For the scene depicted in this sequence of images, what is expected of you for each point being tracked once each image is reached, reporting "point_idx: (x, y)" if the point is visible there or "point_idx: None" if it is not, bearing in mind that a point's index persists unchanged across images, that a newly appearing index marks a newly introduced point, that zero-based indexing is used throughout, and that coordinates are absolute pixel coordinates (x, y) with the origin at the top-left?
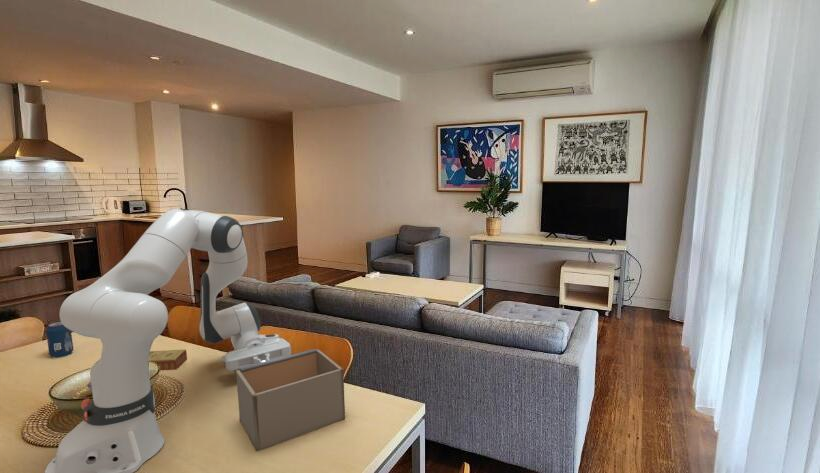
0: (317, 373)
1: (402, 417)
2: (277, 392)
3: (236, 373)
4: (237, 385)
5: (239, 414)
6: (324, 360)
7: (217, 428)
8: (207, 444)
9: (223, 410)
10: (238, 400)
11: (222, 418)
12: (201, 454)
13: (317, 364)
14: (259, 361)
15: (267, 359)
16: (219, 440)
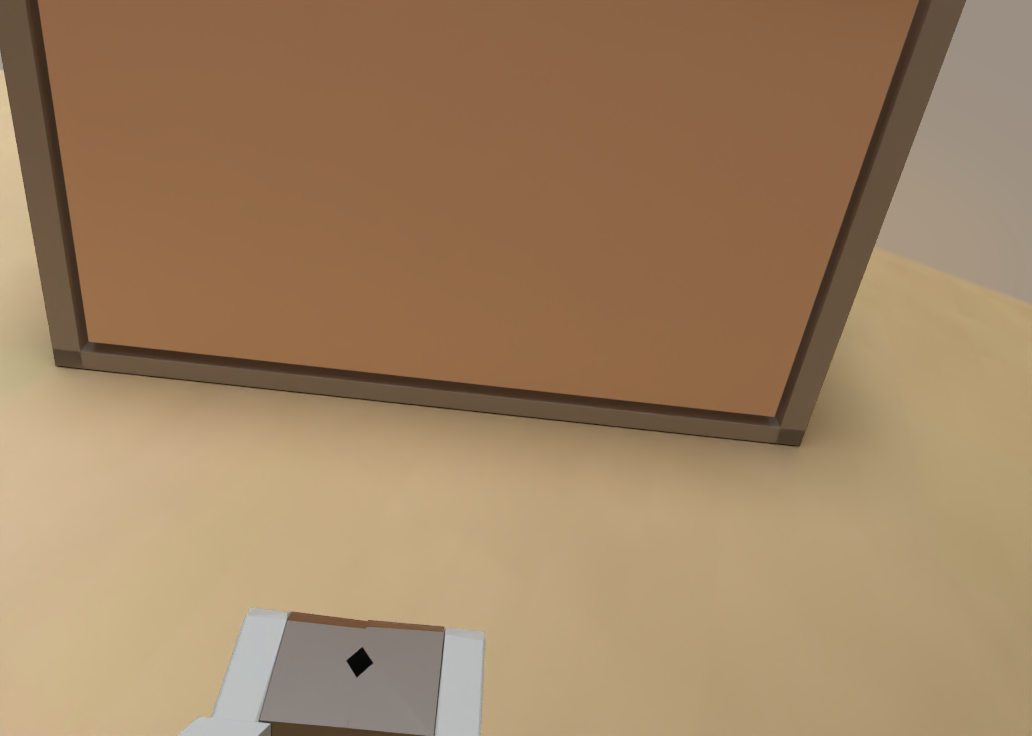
0: (52, 146)
1: (4, 79)
2: None
3: (960, 3)
4: (909, 135)
5: (815, 393)
6: None
7: (964, 459)
8: (990, 373)
9: (973, 656)
10: (857, 278)
11: (952, 543)
12: (1001, 334)
13: (41, 29)
14: (480, 694)
15: (293, 623)
16: (921, 364)
